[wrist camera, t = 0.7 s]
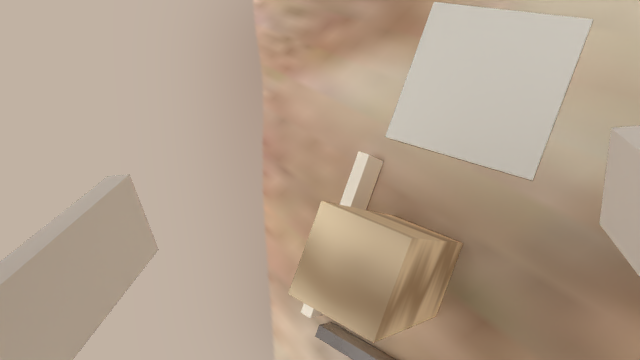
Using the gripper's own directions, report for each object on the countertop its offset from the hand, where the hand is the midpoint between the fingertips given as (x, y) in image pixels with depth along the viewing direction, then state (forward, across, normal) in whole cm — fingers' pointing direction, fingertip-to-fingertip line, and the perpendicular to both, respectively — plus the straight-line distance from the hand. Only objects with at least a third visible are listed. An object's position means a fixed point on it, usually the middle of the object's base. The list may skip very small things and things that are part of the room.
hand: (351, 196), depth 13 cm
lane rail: (+21, -4, -15) cm, 27 cm away
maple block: (+19, +1, -16) cm, 25 cm away
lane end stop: (+15, -2, -23) cm, 27 cm away
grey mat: (+25, +8, -4) cm, 26 cm away
